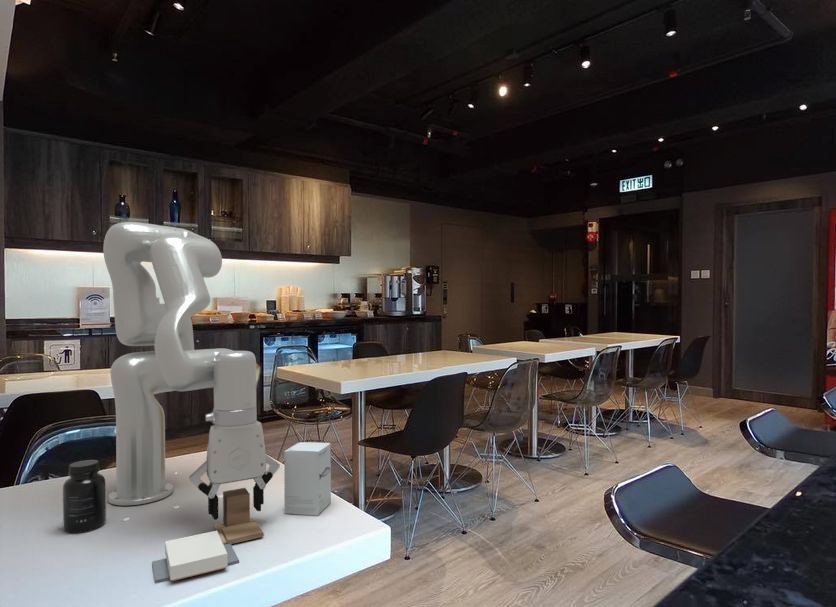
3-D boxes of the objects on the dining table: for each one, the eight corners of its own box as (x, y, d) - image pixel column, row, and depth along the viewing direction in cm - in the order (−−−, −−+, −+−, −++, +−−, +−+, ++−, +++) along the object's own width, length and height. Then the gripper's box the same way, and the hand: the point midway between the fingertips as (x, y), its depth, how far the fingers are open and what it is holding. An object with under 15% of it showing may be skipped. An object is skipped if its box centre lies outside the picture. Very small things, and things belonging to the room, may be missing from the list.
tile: (165, 541, 86) (170, 566, 77) (216, 530, 90) (227, 553, 81) (165, 555, 85) (170, 582, 77) (216, 544, 89) (227, 568, 81)
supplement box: (318, 516, 102) (317, 451, 102) (283, 514, 104) (282, 450, 104) (332, 502, 109) (331, 442, 110) (299, 500, 111) (298, 441, 111)
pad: (214, 526, 98) (214, 525, 98) (252, 518, 101) (252, 517, 101) (223, 544, 90) (223, 543, 90) (264, 535, 94) (264, 533, 94)
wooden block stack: (217, 524, 98) (217, 492, 98) (250, 517, 101) (250, 486, 101) (227, 544, 89) (227, 509, 89) (263, 536, 92) (263, 502, 93)
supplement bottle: (67, 523, 101) (67, 460, 101) (108, 517, 103) (108, 456, 104) (59, 537, 94) (58, 470, 95) (102, 530, 97) (102, 465, 97)
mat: (152, 564, 83) (152, 561, 83) (230, 546, 90) (230, 543, 90) (155, 583, 77) (155, 580, 77) (239, 562, 83) (239, 560, 83)
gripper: (187, 426, 90) (188, 530, 90) (287, 415, 99) (288, 510, 99) (182, 419, 97) (183, 516, 96) (276, 409, 105) (277, 498, 105)
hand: (236, 512), depth 97 cm, fingers open, 7 cm apart
